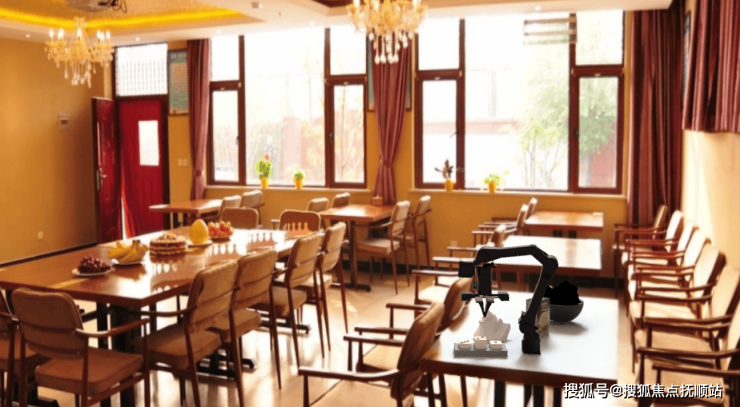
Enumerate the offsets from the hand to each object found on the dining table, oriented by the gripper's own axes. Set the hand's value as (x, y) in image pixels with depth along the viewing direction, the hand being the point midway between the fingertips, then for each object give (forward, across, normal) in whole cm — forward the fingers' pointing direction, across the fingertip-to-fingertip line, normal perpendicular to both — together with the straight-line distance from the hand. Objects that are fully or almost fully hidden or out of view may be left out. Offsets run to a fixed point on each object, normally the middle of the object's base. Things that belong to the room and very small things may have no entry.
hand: (484, 317), depth 265 cm
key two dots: (+11, +2, +5) cm, 12 cm away
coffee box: (+13, -24, -19) cm, 33 cm away
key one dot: (+13, -4, +4) cm, 14 cm away
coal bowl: (+13, -38, -41) cm, 57 cm away
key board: (+13, +2, +4) cm, 14 cm away
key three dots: (+13, +8, +5) cm, 16 cm away
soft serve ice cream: (+13, -4, -13) cm, 19 cm away
